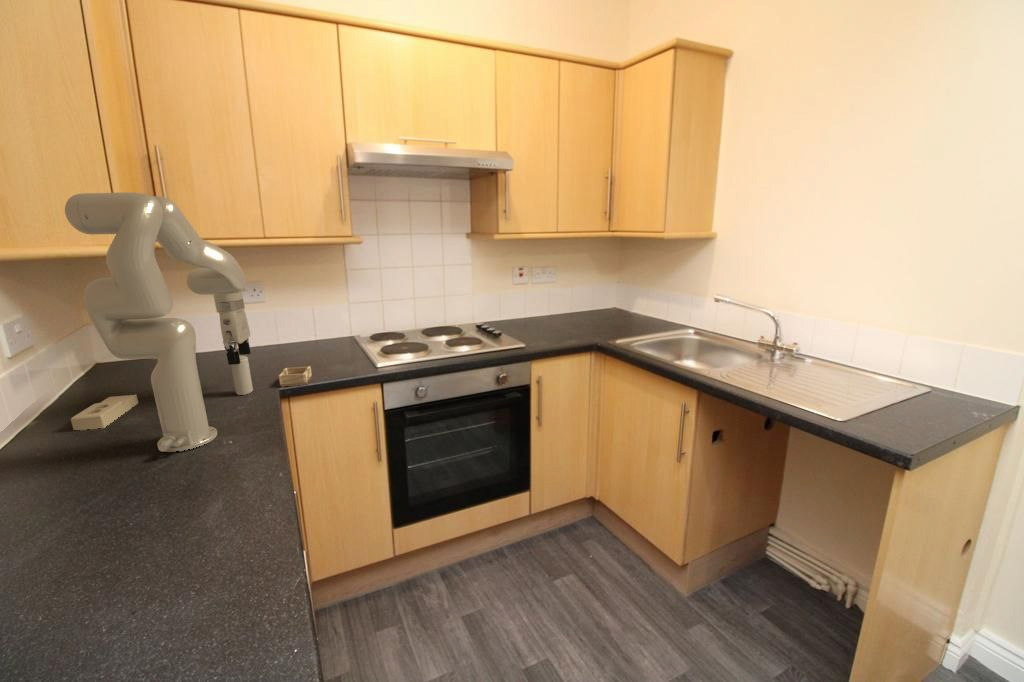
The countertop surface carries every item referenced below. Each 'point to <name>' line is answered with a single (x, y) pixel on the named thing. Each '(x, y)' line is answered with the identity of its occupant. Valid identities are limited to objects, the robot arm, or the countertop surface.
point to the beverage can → (242, 376)
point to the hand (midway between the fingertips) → (240, 359)
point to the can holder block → (295, 376)
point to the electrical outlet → (103, 412)
